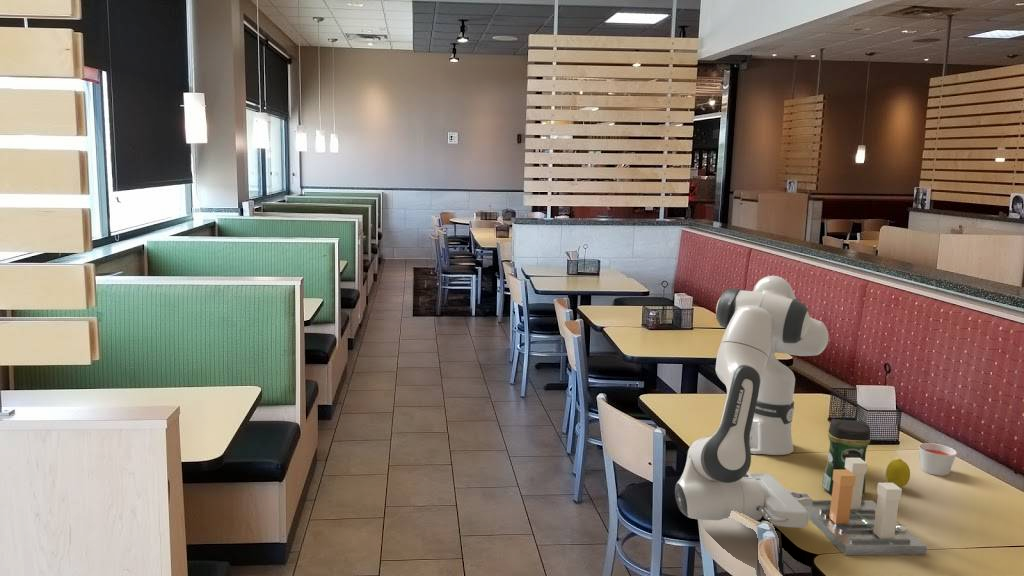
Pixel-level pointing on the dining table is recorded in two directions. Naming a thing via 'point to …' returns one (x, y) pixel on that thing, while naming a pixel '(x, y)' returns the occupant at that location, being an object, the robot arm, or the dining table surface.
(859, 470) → the cream knob left
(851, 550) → the console
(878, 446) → the dining table surface
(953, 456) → the white ramekin
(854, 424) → the coffee jar
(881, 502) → the cream knob right
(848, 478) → the tan tall block
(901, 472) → the lemon
